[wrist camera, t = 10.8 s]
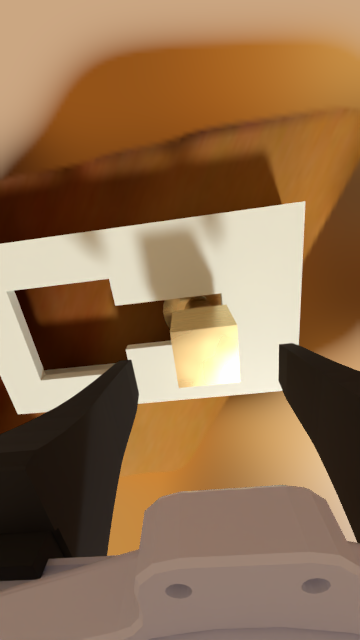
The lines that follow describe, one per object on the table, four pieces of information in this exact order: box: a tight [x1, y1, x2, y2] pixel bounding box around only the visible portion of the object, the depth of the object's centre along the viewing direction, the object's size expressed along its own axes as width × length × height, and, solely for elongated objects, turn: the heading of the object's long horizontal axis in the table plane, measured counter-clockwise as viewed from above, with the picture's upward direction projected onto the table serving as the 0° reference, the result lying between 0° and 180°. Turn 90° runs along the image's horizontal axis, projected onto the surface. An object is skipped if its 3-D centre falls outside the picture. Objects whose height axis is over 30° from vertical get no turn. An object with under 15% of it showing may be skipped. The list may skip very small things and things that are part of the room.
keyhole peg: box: [163, 294, 240, 388], centre depth 18 cm, size 6×6×9 cm
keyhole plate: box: [0, 201, 305, 414], centre depth 20 cm, size 24×14×4 cm, turn 97°
